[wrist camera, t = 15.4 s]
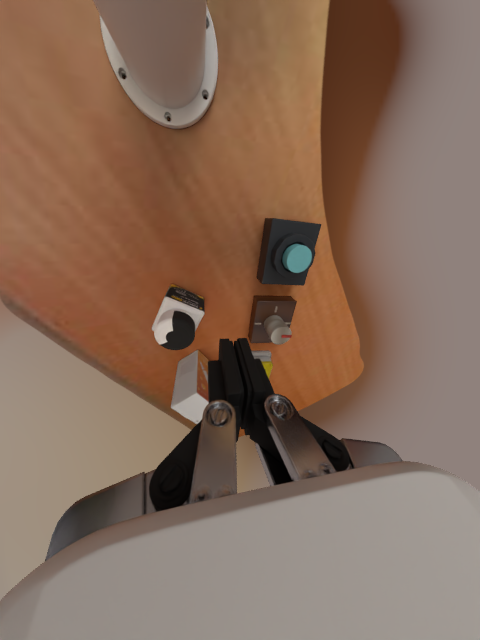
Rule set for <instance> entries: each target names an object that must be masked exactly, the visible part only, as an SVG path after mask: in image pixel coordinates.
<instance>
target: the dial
mask: <svg viewBox="0 0 480 640" xmlns="http://www.w3.org/2000/svg"><path fill="white" fill-rule="evenodd" d="M264 328H265V330H266V332H267V333H268V335H269V337H270V339H271V341H272V342H273V343H275V344H283V343H285V342H287V341H288V340H289V339H290V338H291V336H292V335H291V330H290V329H289V327H288V326H287V325H286V324H285V322H284V321H283V320H282V318H281V317H280V316H278V315H272V316H269V317H268V318H267V319H266V320H265V322H264Z"/></svg>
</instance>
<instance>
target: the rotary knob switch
mask: <svg viewBox="0 0 480 640" xmlns="http://www.w3.org/2000/svg"><path fill="white" fill-rule="evenodd" d="M296 302H297V301H295V300H294V299H293V298H292V297H291V296H254V299H253V306H252V313H251V320H250V327H249V334H248V337H249V339H250V342H251V343H269V342H272V341H271V339H270V337H269V335H268V333H267V332H266V330H265V328H264V322H265V320H266V319H267V318H268V317H269V316H272V315H278V316H280V317H281V318H282V320H283V321H284V322H285V324H286V325H287V326H288V327H289V328H290V324H291V320H292V317H293V313H294V309H295V306H296Z"/></svg>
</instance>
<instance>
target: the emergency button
mask: <svg viewBox="0 0 480 640" xmlns="http://www.w3.org/2000/svg"><path fill="white" fill-rule="evenodd" d="M252 354H253V357H254V359H256V358H259V359H260V360H261V362H262V364H263V366H264V369H265V371H266V374H267V376H268V379H269V376H270V373H271V369H272V366H273V364H272V361H271V352H270V351H252Z"/></svg>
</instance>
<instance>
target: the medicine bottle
mask: <svg viewBox="0 0 480 640" xmlns="http://www.w3.org/2000/svg"><path fill="white" fill-rule="evenodd" d="M203 315H204V298H203V297H201V296H199V295H196V294H194V293H192V292H190V291H187V290H185V289H183V288H180V287H178V286H176V285H174V284H171V285H170V286H169V289H168V291H167V293H166V295H165V297H164V299H163V302H162V304H161V307H160V309H159V312H158V314H157V316H156V319H155V321H154V324H153V326H152V330H153V331H154V336H155V339H156V341H157V342H158V343H159V344H160V345H161V346H163V347H164V348H167V349H170V350H180V349H184V348H186V347H188V346H189V345H190V344H191V343H192V342H193V340H194V337H195V331H196V329H197V327H198V325H199V323H200V321H201V319H202V317H203Z"/></svg>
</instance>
